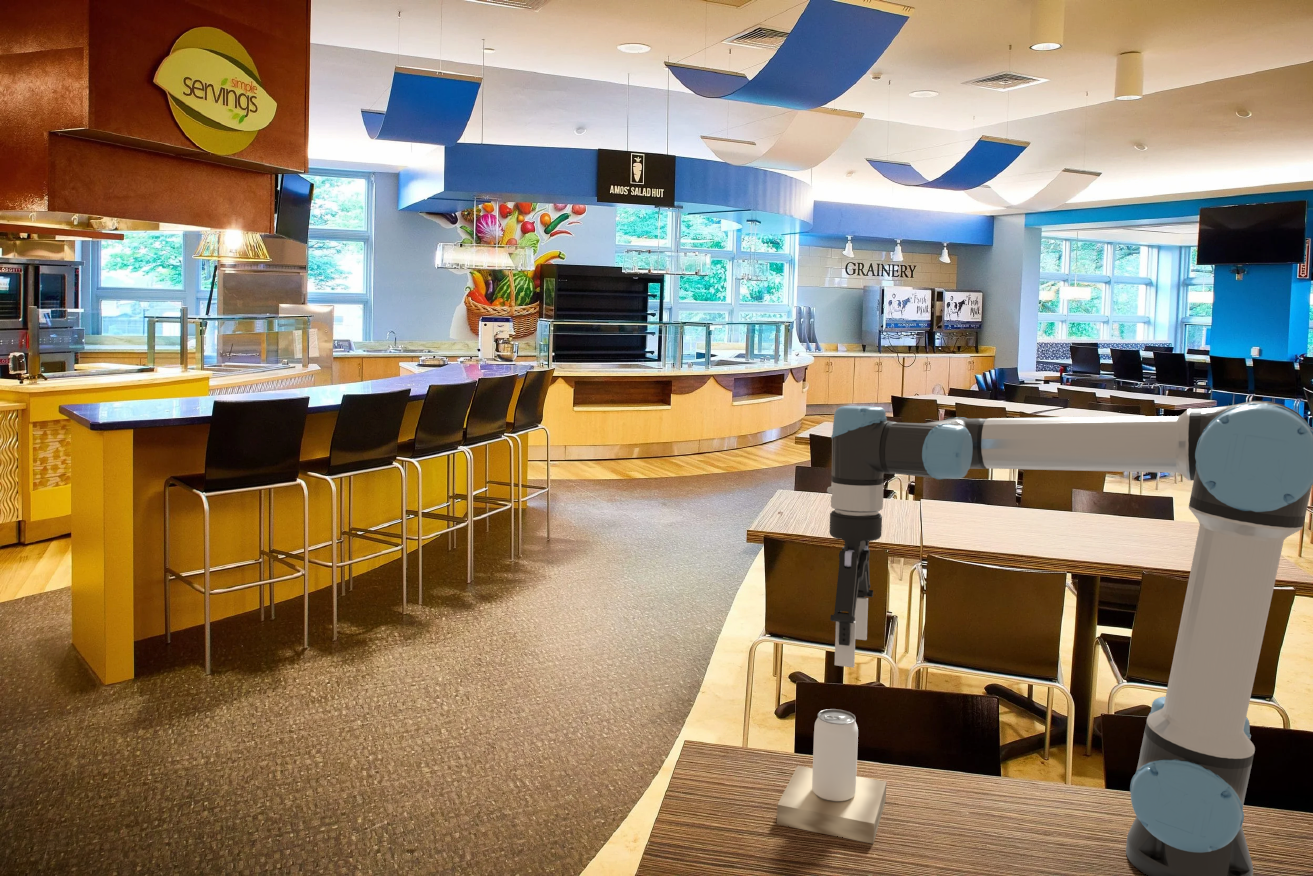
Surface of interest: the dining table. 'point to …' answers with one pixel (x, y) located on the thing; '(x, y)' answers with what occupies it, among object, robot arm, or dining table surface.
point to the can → (835, 755)
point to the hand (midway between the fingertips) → (851, 651)
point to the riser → (832, 808)
